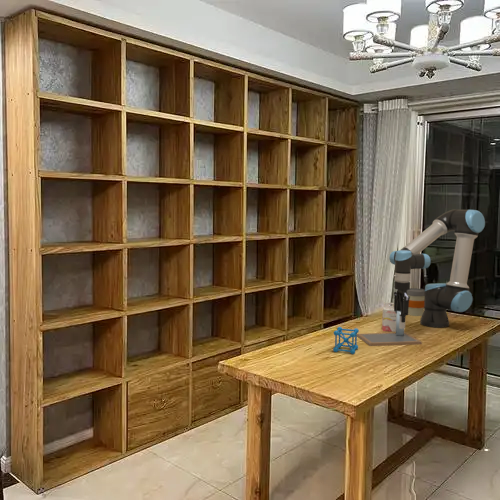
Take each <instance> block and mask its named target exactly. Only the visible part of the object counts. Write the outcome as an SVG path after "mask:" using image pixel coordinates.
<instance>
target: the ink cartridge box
mask: <svg viewBox="0 0 500 500" xmlns="http://www.w3.org/2000/svg"><path fill="white" fill-rule="evenodd" d="M381 321H382V322H381V323H382V324H381V329H382V331H383V332H390V333H396V313H395V311H394V302H383V307H382V320H381Z"/></svg>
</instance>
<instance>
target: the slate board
mask: <svg viewBox="0 0 500 500" xmlns="http://www.w3.org/2000/svg"><path fill="white" fill-rule="evenodd" d="M357 337H358V338H359V339H360V340H362V342H364V343H365V344H367V345H368V346H369V347H379V346H405V345H406V346H408V345H409V346H410V345H422V344H423V341H421V340H419V339H417V338H416V337H414V336H412V335H411V334H410V333H407V332H406V331H404V336H398V335H396V332H377V333H369V332H368V333H357Z"/></svg>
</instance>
